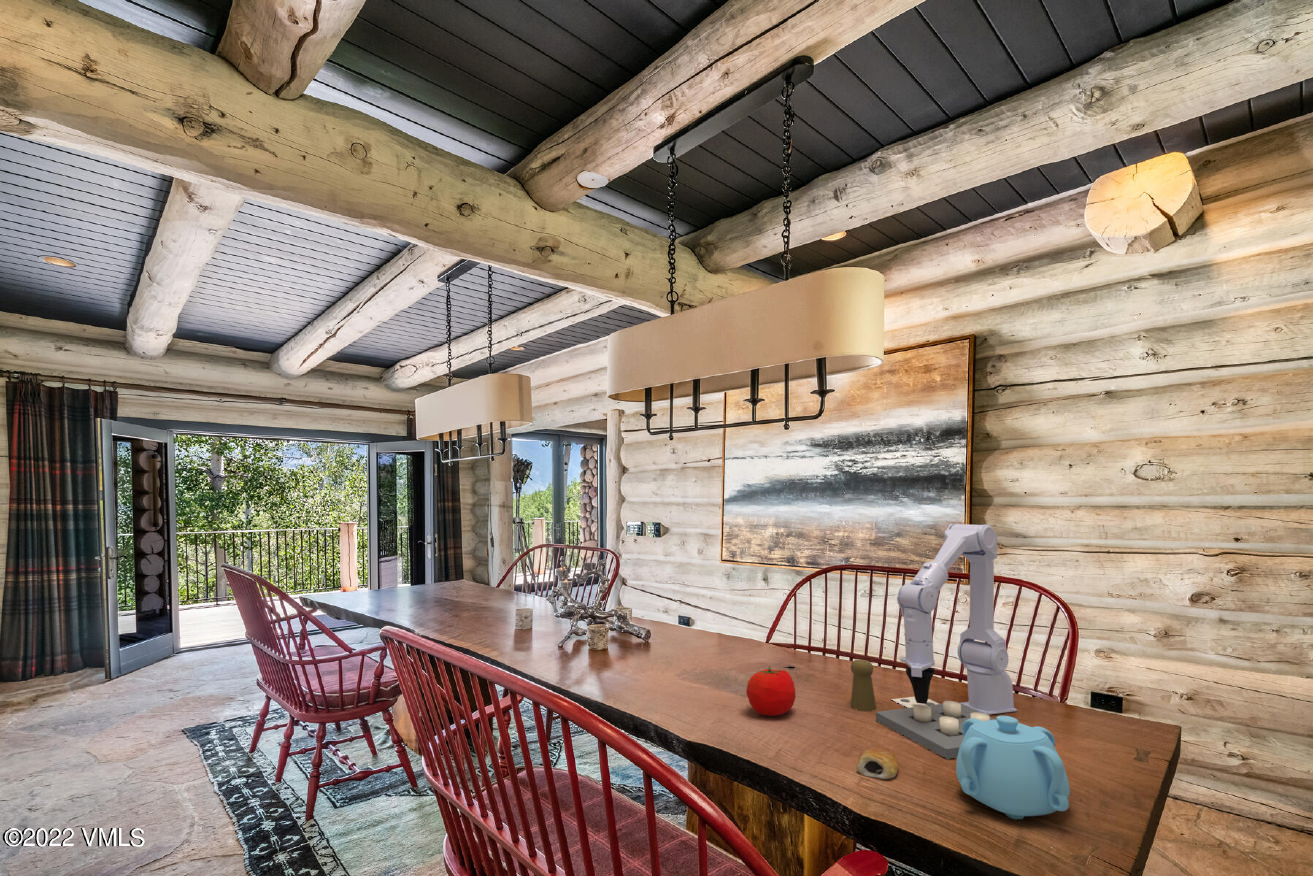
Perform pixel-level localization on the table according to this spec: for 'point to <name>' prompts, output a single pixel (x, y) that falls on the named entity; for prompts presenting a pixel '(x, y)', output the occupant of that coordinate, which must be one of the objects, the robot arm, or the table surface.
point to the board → (926, 728)
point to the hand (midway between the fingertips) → (921, 702)
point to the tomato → (771, 692)
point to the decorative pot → (1012, 767)
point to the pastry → (878, 764)
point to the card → (912, 702)
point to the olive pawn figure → (862, 686)
